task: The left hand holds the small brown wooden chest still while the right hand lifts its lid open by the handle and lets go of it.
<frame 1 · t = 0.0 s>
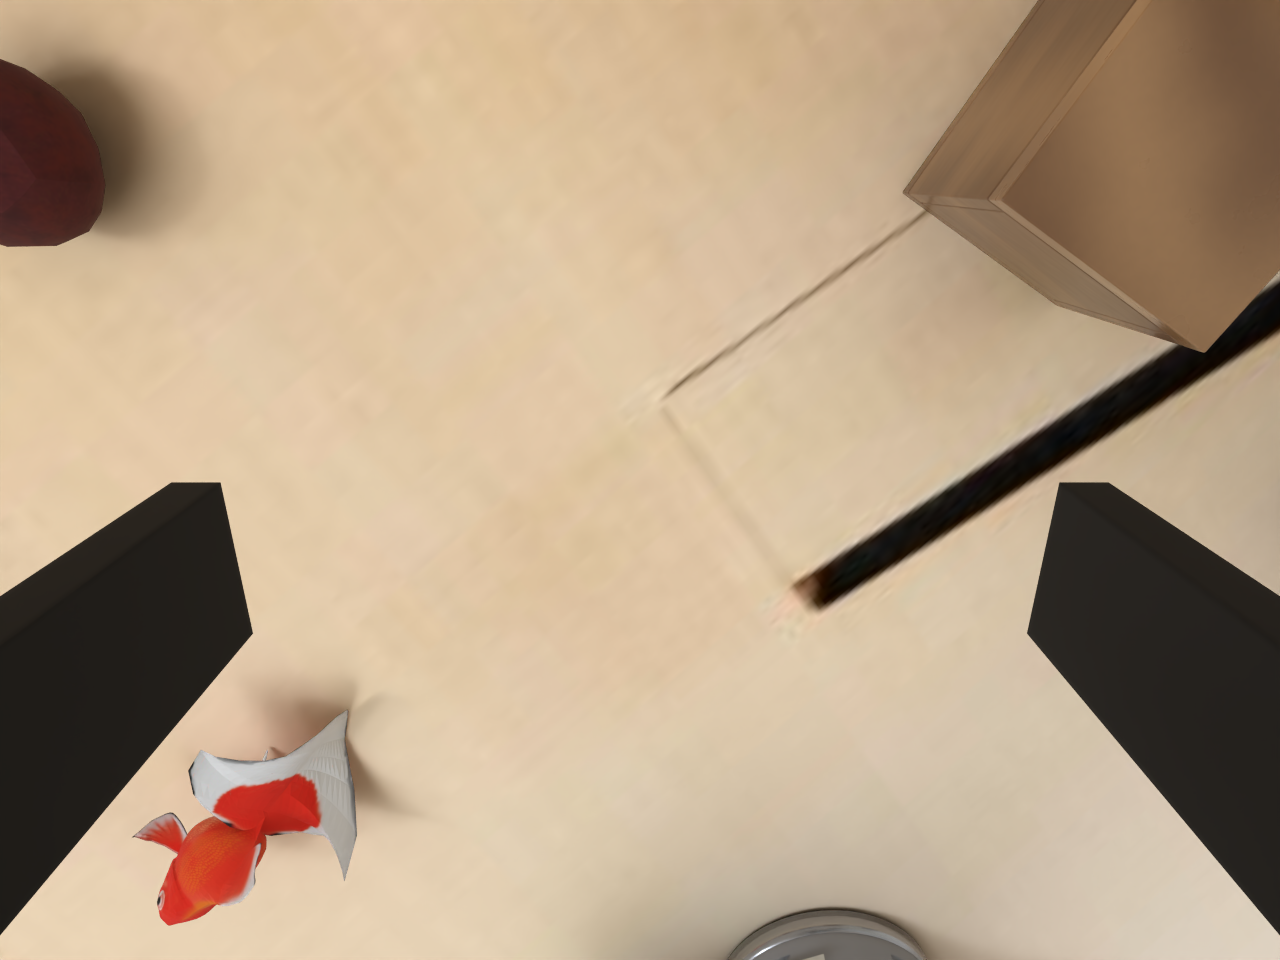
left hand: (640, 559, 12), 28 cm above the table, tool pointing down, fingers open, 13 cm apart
chest: (1097, 99, 35), on the table
dark maroon ball: (61, 158, 36), on the table
fish: (282, 765, 49), on the table
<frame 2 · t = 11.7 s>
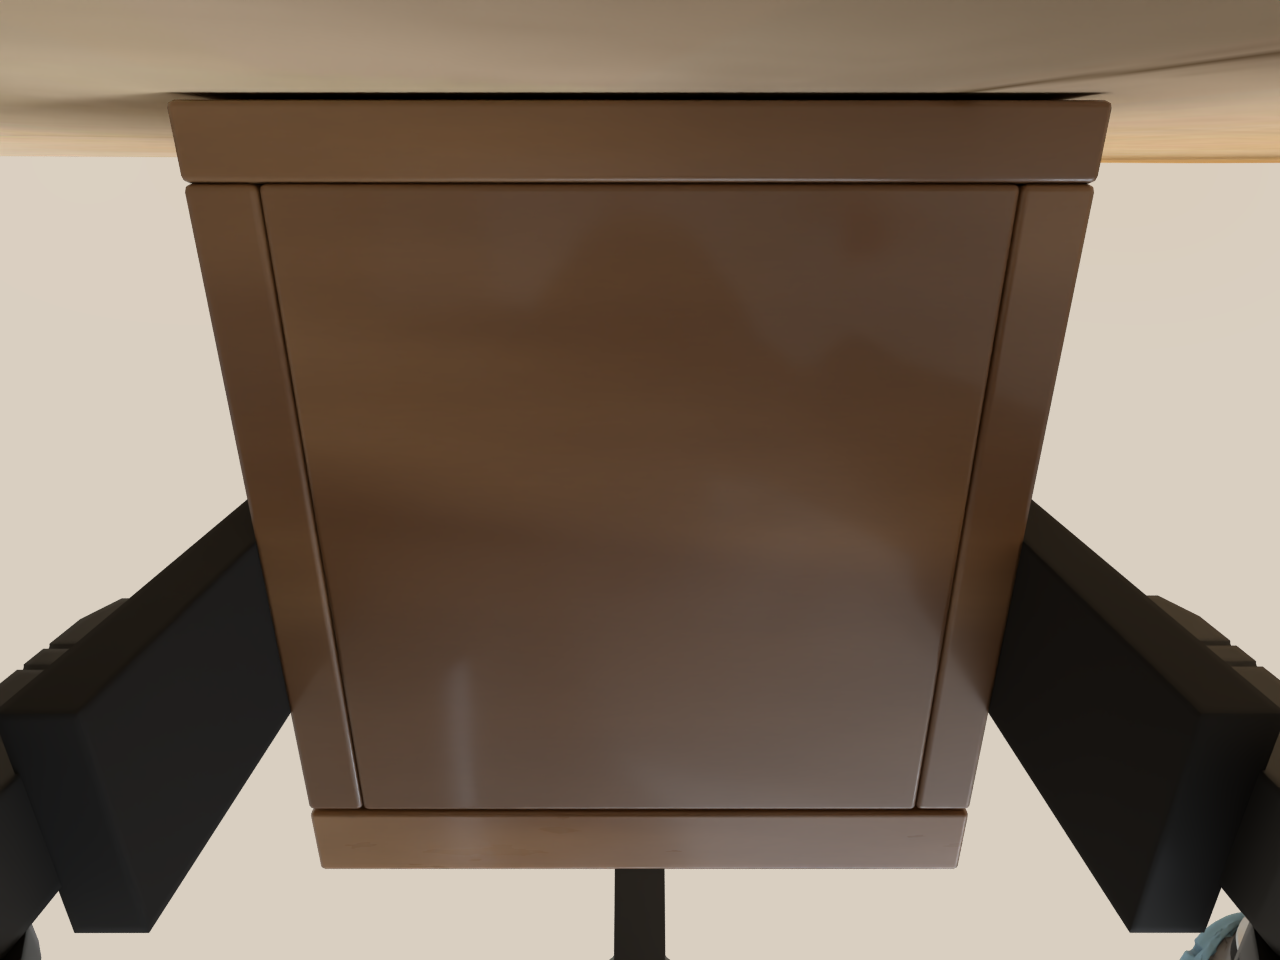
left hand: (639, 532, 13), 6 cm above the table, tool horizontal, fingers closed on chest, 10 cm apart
chest: (639, 132, 15), on the table, touching left hand
lid: (639, 703, 21), point 14 cm above the table, hinge at 0.0°
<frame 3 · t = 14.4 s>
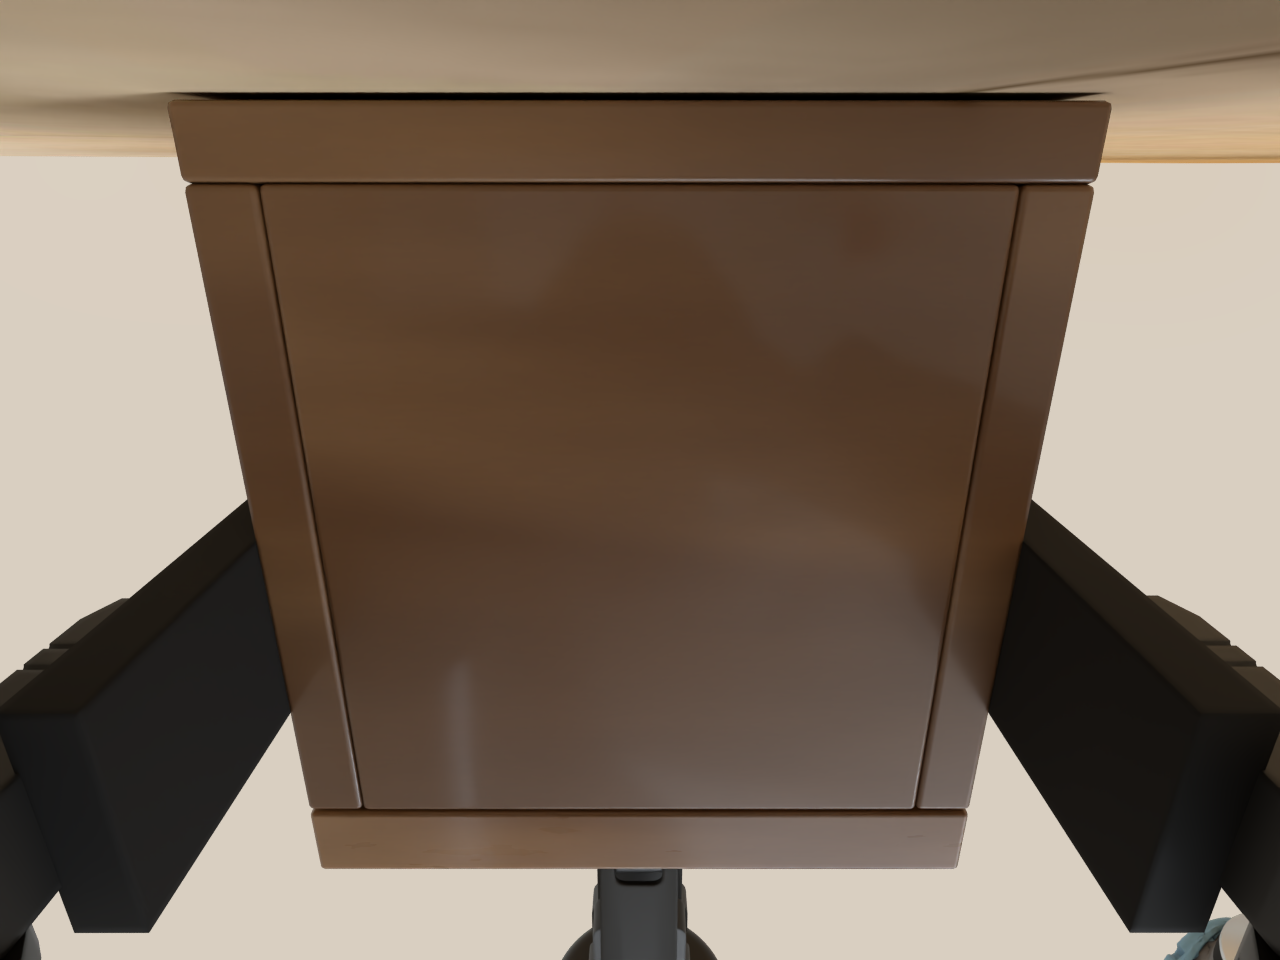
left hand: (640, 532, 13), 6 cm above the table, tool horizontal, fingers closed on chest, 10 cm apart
chest: (639, 132, 15), on the table, touching left hand
lid: (639, 703, 21), point 14 cm above the table, hinge at -0.1°, touching right hand
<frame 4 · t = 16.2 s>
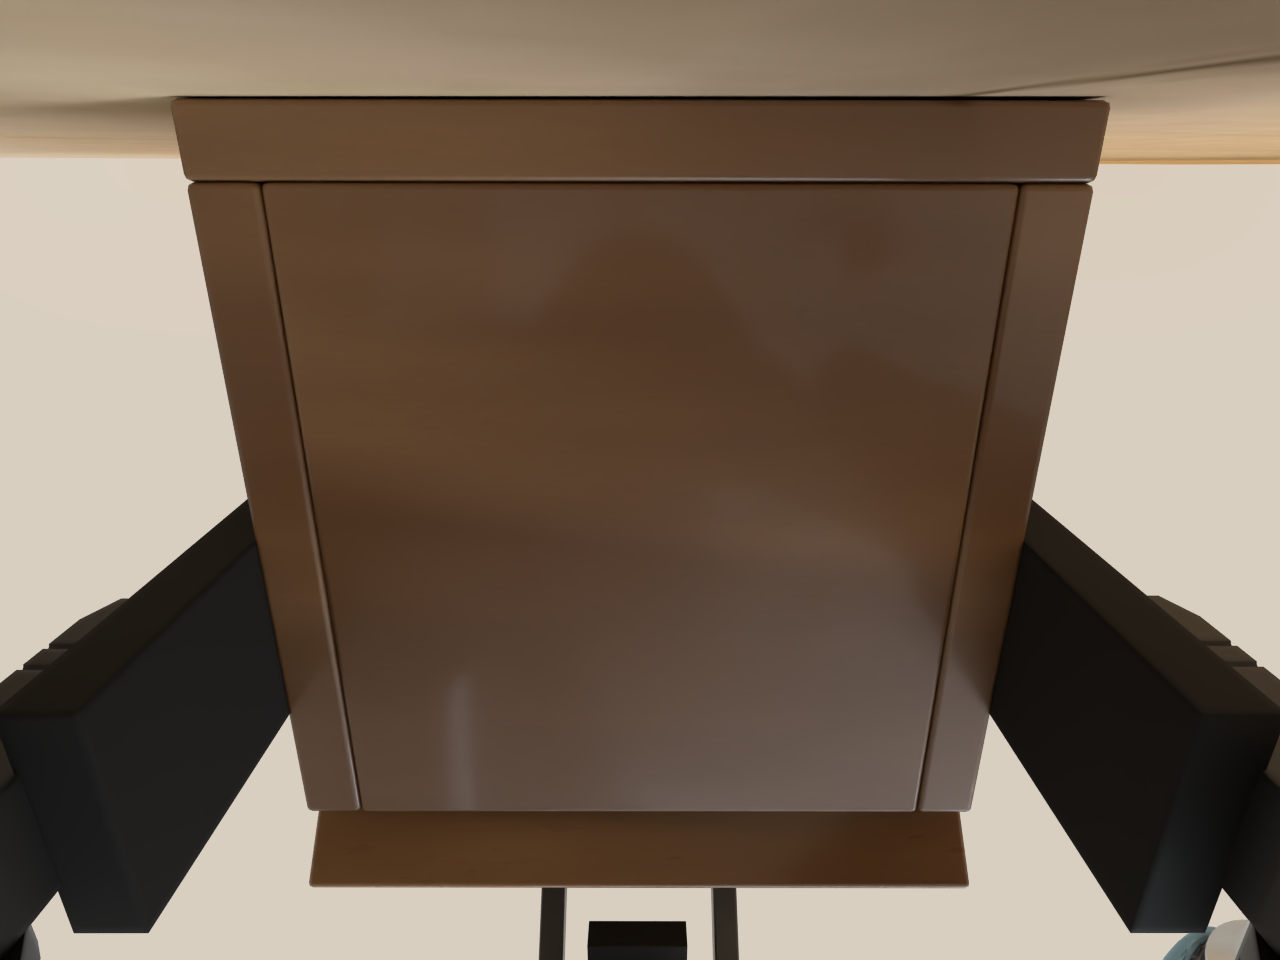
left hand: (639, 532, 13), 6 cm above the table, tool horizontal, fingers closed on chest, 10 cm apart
chest: (640, 137, 15), on the table, touching left hand
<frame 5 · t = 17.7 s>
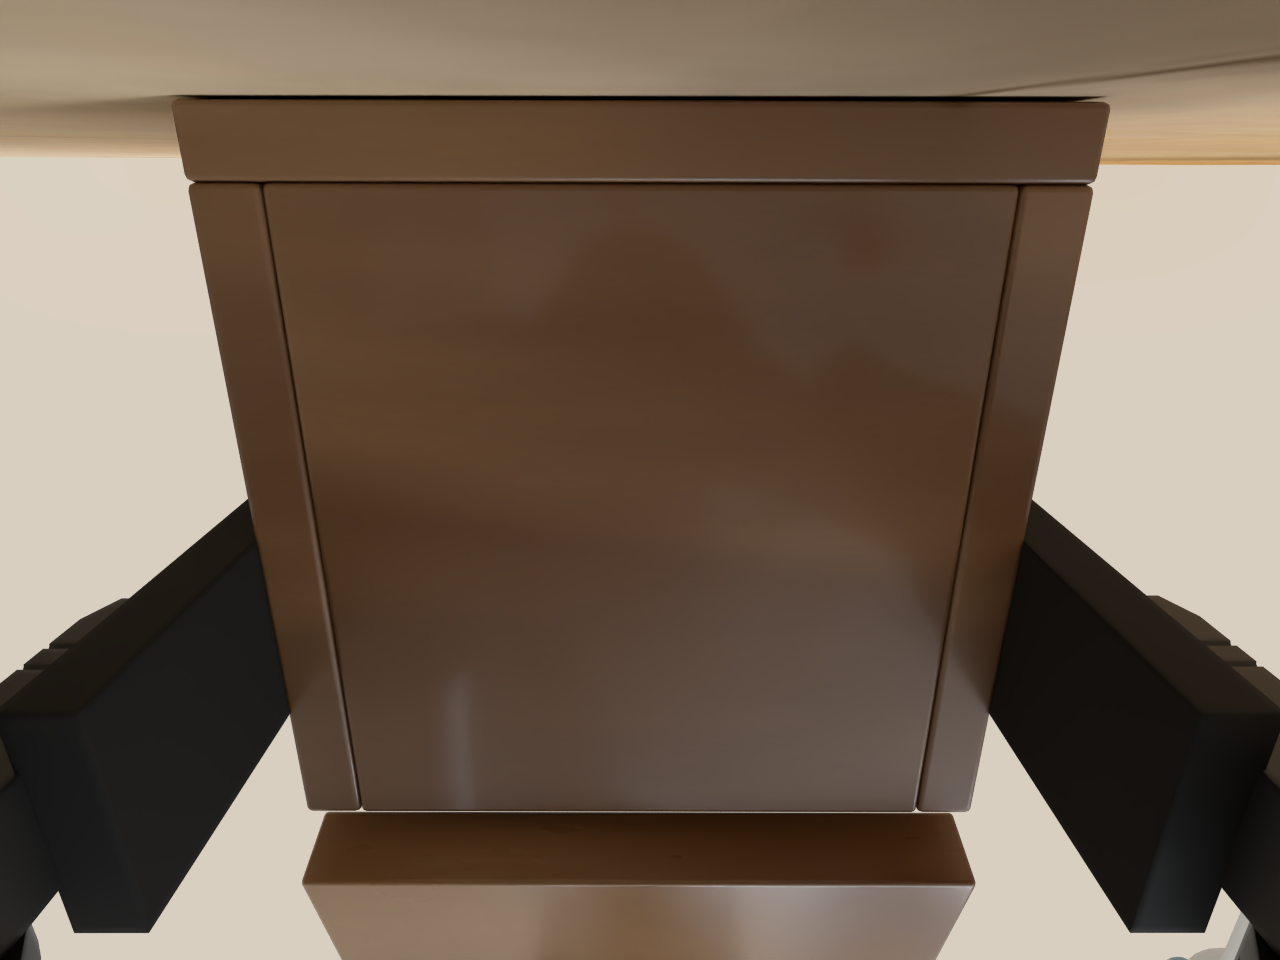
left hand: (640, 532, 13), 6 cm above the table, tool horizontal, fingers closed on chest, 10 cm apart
chest: (640, 137, 15), on the table, touching left hand
when the left hand's fingers open (6 cm above the table, at t = 21.5 s): chest stays where it is, on the table.
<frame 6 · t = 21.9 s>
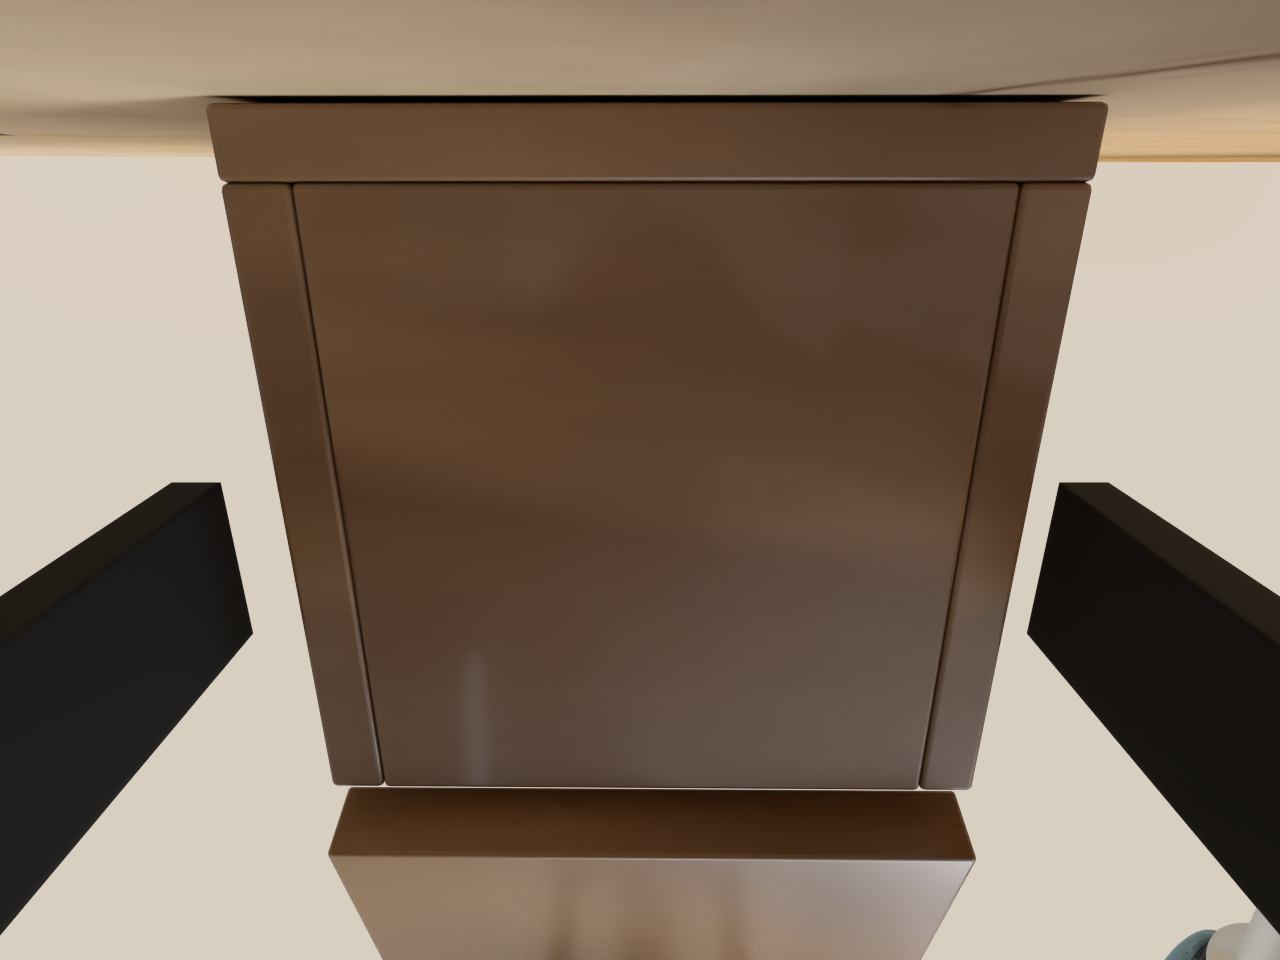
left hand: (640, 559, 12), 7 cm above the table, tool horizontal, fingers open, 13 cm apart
chest: (651, 133, 16), on the table
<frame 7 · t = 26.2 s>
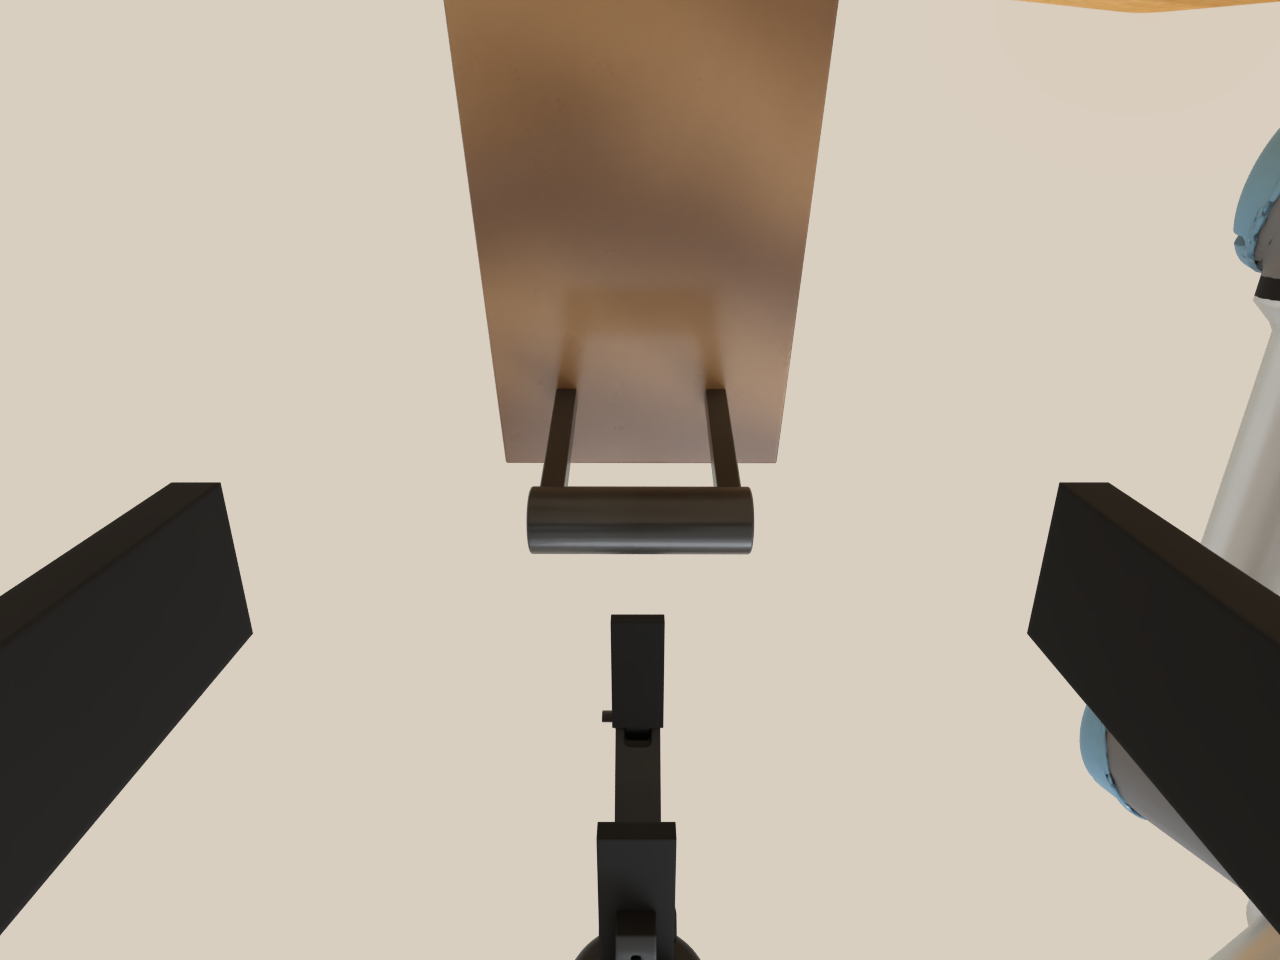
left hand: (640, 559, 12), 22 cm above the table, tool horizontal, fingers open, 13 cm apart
lid: (640, 295, 21), point 19 cm above the table, hinge at 73.4°
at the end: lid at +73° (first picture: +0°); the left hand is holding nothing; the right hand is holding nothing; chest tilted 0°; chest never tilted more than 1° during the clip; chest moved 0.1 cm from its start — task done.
